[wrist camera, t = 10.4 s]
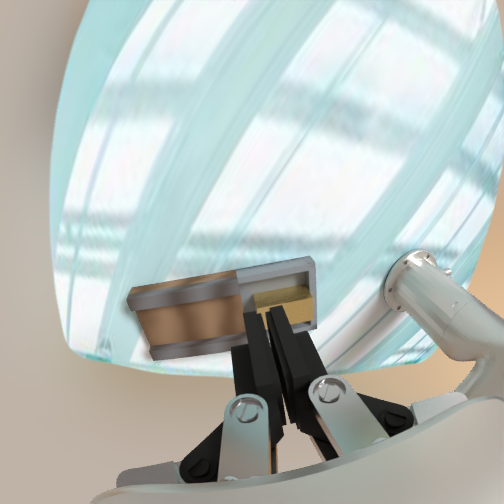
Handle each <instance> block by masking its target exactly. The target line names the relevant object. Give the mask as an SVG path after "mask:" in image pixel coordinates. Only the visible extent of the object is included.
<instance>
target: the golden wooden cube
mask: <svg viewBox="0 0 504 504" xmlns="http://www.w3.org/2000/svg"><path fill="white" fill-rule="evenodd" d="M253 297H254V304H255V310H256V314H258V313H261V314H262V318H263V321H264V325H265V329H266V330H267V329H268V327H267V321H266V315H265V312H268V311H270V310H269V308H270V307H275V306H279V305H282V306H283V308H284V310H285V313H286V305H285V301H284V299H283V296H282V294H281V292H280V289H274V290H269V291H264V292H259V293H253Z"/></svg>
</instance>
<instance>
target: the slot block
mask: <svg viewBox="0 0 504 504" xmlns="http://www.w3.org/2000/svg"><path fill="white" fill-rule="evenodd" d="M126 300H127V303H128V305H129V308H130V310H131V311H136V313H137V316H138V318H139V321H140V323H141V325H142V328H143V330H144V332H145V334H146V337H147V339H148V341H149V343H150V345H151V347H150V351H149V352H150V355H151V357H152V359H153V361H156V360H166V359H175V358H183V357H191V356H199V355H206V354H213V353H220V352H226V351H231V347H232V346H238V345H243V344H248V340H247V335H246V329H245V323H244V318H243V313H244V310H243V305H242V299H241V294H240V289H239V284H238V279H237V273H236V270H231V271H225V272H220V273H214V274H208V275H203V276H197V277H191V278H186V279H180V280H174V281H168V282H162V283H156V284H150V285H144V286H138V287H132V289H131V291H130V293H129V295H128V297H127V299H126Z"/></svg>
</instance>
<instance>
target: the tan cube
mask: <svg viewBox="0 0 504 504" xmlns="http://www.w3.org/2000/svg"><path fill="white" fill-rule="evenodd" d="M280 292H281V294H282V296H283V299H284V301H285V305H286V315H287V318H288V320H289V323H290V325H292V324H297V323H301V322H305V321H310V320H314V317H313V297H312V295H311V293H310V291H309V290H308V288H307V286H306V285H305V284H301V285H296V286H291V287H286V288H281V289H280Z"/></svg>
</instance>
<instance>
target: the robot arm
mask: <svg viewBox="0 0 504 504" xmlns="http://www.w3.org/2000/svg"><path fill="white" fill-rule="evenodd" d="M449 275H451V270H450V268H448V269H445V270H442V269H440V268H439V267H438V266H437V263H436V260H435V258H434V256H433V255H432V254H431V253H429V252H428V251H426V250H423V249H416V250H412V251H410V252H408V253H407V254H405V255H404V256H402V257H401V258H400V259H399V260H398V261H397V262H396V263H395V265H394V266H393V267H392V269H391V271H390V272H389V275H388V277H387V279H386V282H385V287H384V297H385V300H386V302H387V304H388V305H389V306H390V307H391V308H392V309H393V310H395V311H399V312H403V311H406V312H407V313H408V314H409V315H410V316H411V317H412V318H413V319H414V320H415V321H416V322H417V324H418V325H419V326H420V327H421V328H422V329H423V330H424V331H425V332H426V333H427V334H428V335H429V336H430V338H431V339H432V340H433V341H434V342H435V343H436V344H437V345H438V346H439V348H440V349H441V350H442V351H443V352H444V353H445V354H446V355H447V356H448V357H449V358H451V359H453V360H455V361H476V364H475V366H474V367H473V369H472V370H471V371H470V373H469V374H468V376H467V377H466V378H465V379H464V380H463V382H462V383H461V384H460V385H459V386H458V387H457V389H456V390H455V391H454V392H451V393H447V394H444V395H441V396H437V397H434V398H431V399H427V400H423V401H419V402H415V403H412V404H411V406H408V407H405V406H403V405H399V404H395V403H391V402H387V401H384V400H380V399H377V398H373V397H369V396H366V395H363V394H359V393H356V392H355V391H354V389H353V388H352V387H351V385H350V384H349V383H348V382H347V381H346V380H345V379H344V378H342V377H340V376H337V375H328V374H327V372H326V370H325V367H324V365H323V363H322V361H321V359H320V357H319V354H318V352H317V350H316V348H315V346H314V344H313V342H312V339H311V337H310V335H309V333H308V331H302V332H298V333H293V330H292V328H291V325H290V323H289V320H288V318H287V315H286V313H285V310H284V308H283V306H282V305H279V306H275V307H270V308H269V310H270V311H268V312H265V315H266V321H267V327H268V333H269V339H270V343H269V339H268V336H267V332H266V329H265V325H264V321H263V318H262V314H261V313H258V314H256V311H251V312H246V313H243V318H244V323H245V329H246V335H247V340H248V344H243V345H238V346H232V347H231V356H232V365H233V374H234V383H235V391H236V397H235V398H233V399H232V400H231V401H229V403H228V404H227V406H226V409H225V413H224V421H223V422H222V423H221V424H220V425H219V426H218V427H217V428H216V429H215V430H214V431H213V432H212V433H211V434H210V435H209V436H208V437H207V438H206V439H205V440H203V441H202V442H201V443H200V444H199V445H198V446H197V447H196V448H195V449H194V450H192V451H191V452H190V453H189V454H188V455H187V456H186V457H185V458H184V459H183V460H182V461H180V462H176V463H174V462H173V461H171V462H166V463H161V464H157V465H151V466H146V467H140V468H133V469H128V470H125V471H123V472H122V473H120V474H119V476H118V478H117V482H116V485H117V488H115V489H112V490H108V491H106V492H103V493H101V494H99V495H97V496H96V497H95V498H94V499H93V500H92V501H91V503H90V504H504V319H503V318H501V317H500V316H499V315H497V314H496V313H495V312H493V311H492V310H491V309H489V308H488V307H487V306H486V305H485V304H483V303H482V302H481V301H480V300H478V299H477V298H476V297H474V296H473V295H472V294H471V293H469V292H468V291H467V290H466V289H464V288H463V287H462V286H460V285H459V284H458V283H456V282H455V281H454V280H453V279H452V277H448V276H449ZM270 345H271V347H270ZM282 394H283V397H282ZM283 398H284V402H285V405H286V409H287V412H288V416H289V419H290V423H291V424H292V423H296V425H297V429H300V431H301V432H303V433H305V434H308V435H309V436H310V439H311V441H312V442H313V445H314V446H315V448H316V450H317V452H318V454H319V456H320V457H321V459H322V461H323V462H322V463H319V464H315V465H312V466H308V467H304V468H300V469H296V470H291V471H287V472H282V473H278V461H277V443H278V442H279V441H280V440H281V438H282V437H283V436H284V433H283V427H282V426H283V425H286V418H285V411H284V405H283Z"/></svg>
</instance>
